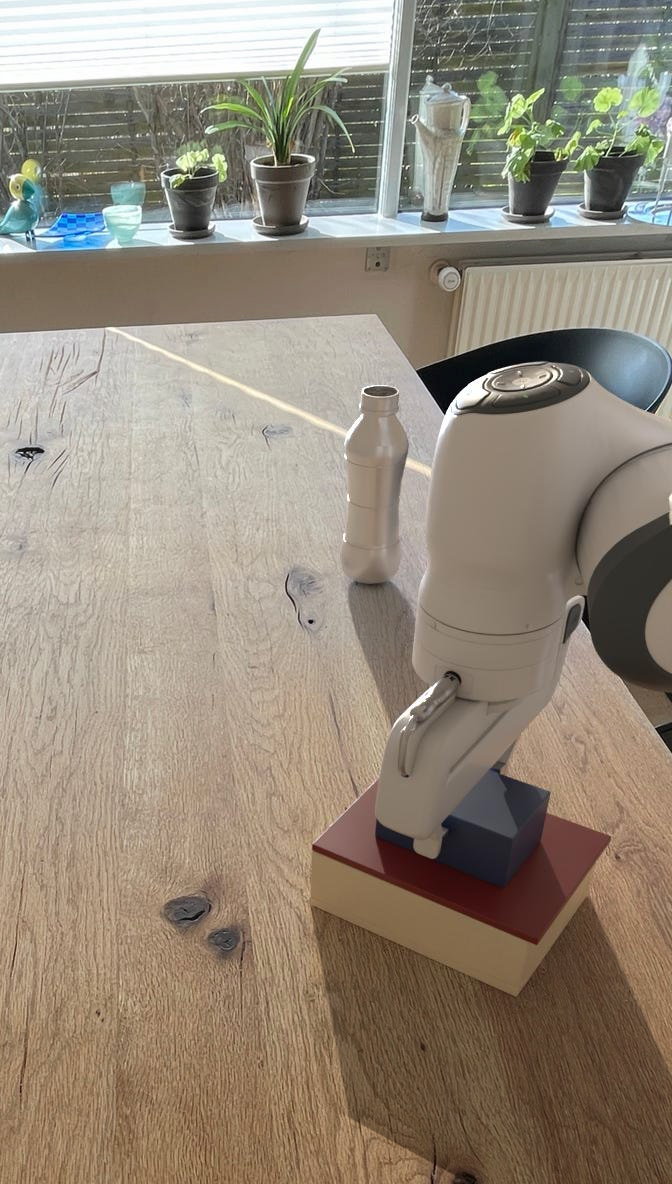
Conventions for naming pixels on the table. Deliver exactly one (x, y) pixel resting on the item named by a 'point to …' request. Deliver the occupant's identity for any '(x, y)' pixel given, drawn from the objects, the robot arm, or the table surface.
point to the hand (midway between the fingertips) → (461, 814)
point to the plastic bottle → (374, 488)
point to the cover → (510, 909)
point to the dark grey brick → (488, 829)
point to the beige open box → (434, 924)
